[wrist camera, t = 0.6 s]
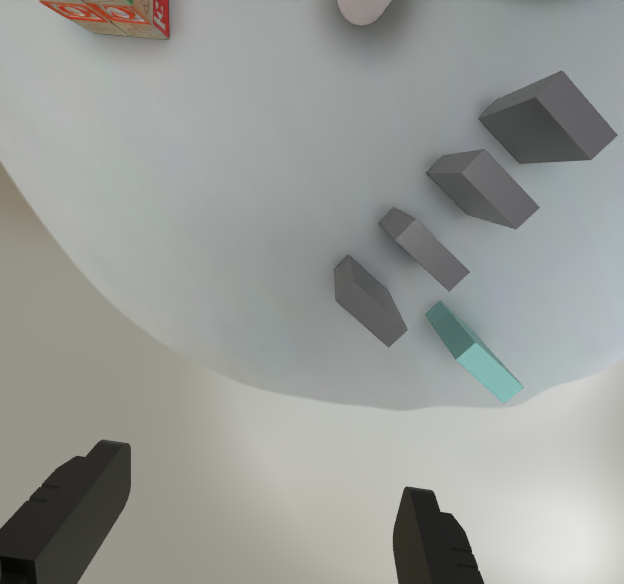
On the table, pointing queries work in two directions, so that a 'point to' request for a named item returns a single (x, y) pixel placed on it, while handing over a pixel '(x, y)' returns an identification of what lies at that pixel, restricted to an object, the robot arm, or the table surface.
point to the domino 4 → (473, 353)
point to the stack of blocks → (117, 16)
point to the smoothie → (362, 10)
